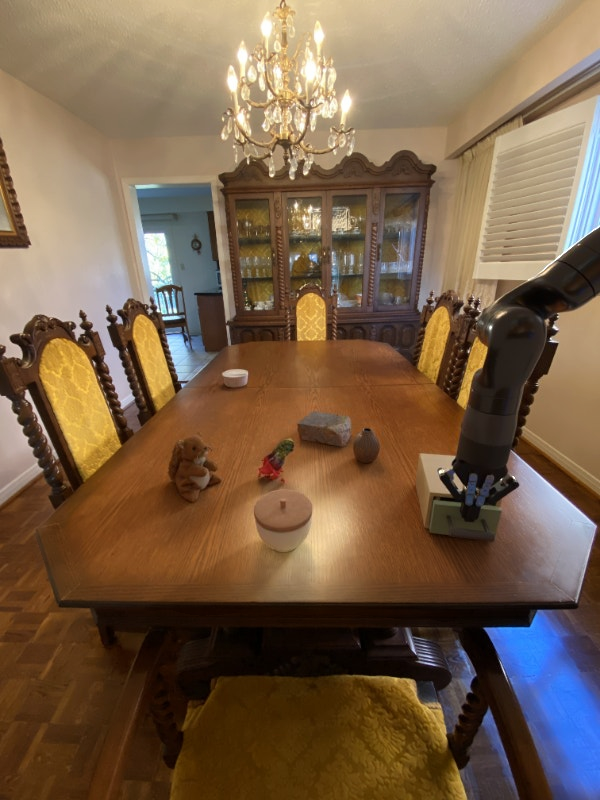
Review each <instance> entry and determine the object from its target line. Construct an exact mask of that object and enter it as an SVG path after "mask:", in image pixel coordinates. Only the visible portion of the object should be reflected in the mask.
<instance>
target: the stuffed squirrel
mask: <svg viewBox="0 0 600 800" xmlns="http://www.w3.org/2000/svg"><path fill="white" fill-rule="evenodd" d="M209 450H210V452H213V450H214V447H213V446H210V445H208V444H207V443H206V442H204V440H203V439H202V432H200V431H198V432H197V433H196V434H193V435H190V436H188V437H185V438H184V439H179V440H177V441H176V442H175V443H174V447H173V449H172V451H171V457H170V461H169V462H168V471H167V474H168V477H169V480H170V481H171V482H172V483H174V484H175V485H176V487H177V490H178V492H179V494H180V496H181V497H182V498H184V500H187V501H189V502H190V503H194V502H197V501H198V498H199V495H200V491H202V490H203V489H205V488H206V487H207V486H208V485H209V486H210V485H213V484H217V483H221V482H222V476H221V475H219V474H214V473H215V472H217V471H218V470H219V465H218V463H217V462H216V461H214V459H211V458H210V457H208V456H207V455H208V454H209Z"/></svg>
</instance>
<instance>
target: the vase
mask: <svg viewBox="0 0 600 800" xmlns="http://www.w3.org/2000/svg"><path fill="white" fill-rule="evenodd" d="M380 449H381V446H380V441H379V438H378V437H377V436H376V434H375V433H374V430H373V429H372V428H370V427H363V428H362V430H361V431H360V433H358V434H357V436H356V437H355V438H354V440H353V443H352V451H353V454H354V457H355V458H356V459H357V460H358V461H359V462H360V463H364V464H367V463H372V462H374V461H375V460H376V459H377V458H378V456H379V454H380Z"/></svg>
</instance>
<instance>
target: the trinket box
mask: <svg viewBox="0 0 600 800" xmlns="http://www.w3.org/2000/svg"><path fill="white" fill-rule="evenodd" d="M253 516H254V522H255V526H256V531H257V534H258V536H259V538H260V540H261V541H262V542H263V543H264V545H266V546H267V547H269V549H271V550H273V551H275V552H279V553H288V552H292V551H294V550H296V549H297V548H298V547H300V546H301V545H302V544H303V543H304V542H305V541H306V539H307V538H308V536H309V533H310V531H311V528H312V522H313V521H312V520H313V503H312V501H311V500H310V498H309V497H308V496H307V495H305V494H304V493H302V492H300V491H298V490H295V489H277V490H272V491H269V492H267V493H266V494H264V495H262V496H261V497H259V499H257V501H256V502H255V504H254V507H253Z"/></svg>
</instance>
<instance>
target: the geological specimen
mask: <svg viewBox="0 0 600 800" xmlns="http://www.w3.org/2000/svg"><path fill="white" fill-rule="evenodd" d="M296 424H297V432H298V436H299V440H302V441H308V442H313V443H320V444H327V445H329V446H330V445H331V446H334V447H339V448H344V447H345V446H346V445H347V444H348V442H349V441H350V438H351V437H352V435H351V431H352V420H351V418H350V417H349V415H343V414H336V413H330V412H324V411H315V410H313V411H311V412H310V413H309V414H308V415H307V416H304V417H303V418H302V419H301V420H300V421H299V422H297V423H296Z"/></svg>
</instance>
